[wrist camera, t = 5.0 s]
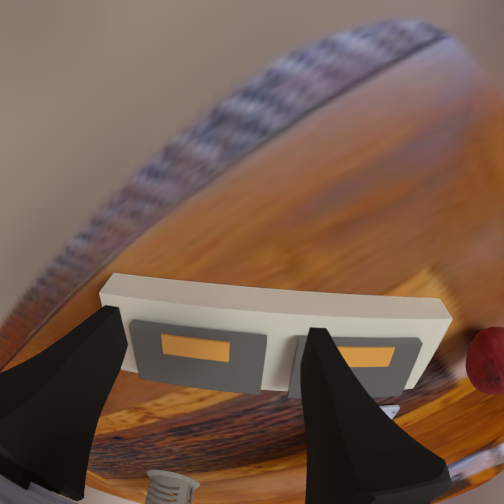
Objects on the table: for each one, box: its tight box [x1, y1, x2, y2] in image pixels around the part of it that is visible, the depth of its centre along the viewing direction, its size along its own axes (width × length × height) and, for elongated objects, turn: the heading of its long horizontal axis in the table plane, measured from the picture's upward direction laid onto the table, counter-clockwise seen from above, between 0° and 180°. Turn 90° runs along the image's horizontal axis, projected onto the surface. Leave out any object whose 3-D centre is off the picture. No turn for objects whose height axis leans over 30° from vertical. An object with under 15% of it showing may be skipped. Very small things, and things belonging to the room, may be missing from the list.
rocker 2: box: [288, 335, 423, 398], centre depth 20 cm, size 5×9×1 cm, turn 86°
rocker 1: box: [129, 319, 267, 394], centre depth 20 cm, size 5×9×1 cm, turn 86°
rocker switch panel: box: [99, 273, 452, 391], centre depth 23 cm, size 12×25×3 cm, turn 86°
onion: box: [466, 327, 504, 395], centre depth 19 cm, size 6×6×8 cm
